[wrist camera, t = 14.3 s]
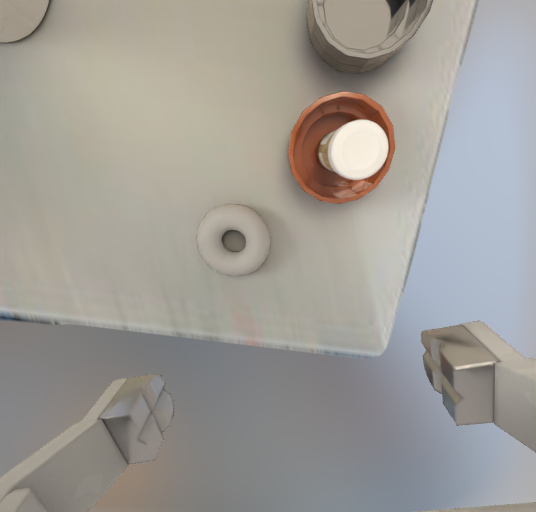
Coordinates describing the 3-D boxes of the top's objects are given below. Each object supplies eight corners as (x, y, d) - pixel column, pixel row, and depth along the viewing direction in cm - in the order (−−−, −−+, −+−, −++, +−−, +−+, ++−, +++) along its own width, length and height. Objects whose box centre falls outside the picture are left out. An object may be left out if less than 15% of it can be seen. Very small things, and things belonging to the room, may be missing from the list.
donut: (277, 209, 39) (204, 195, 38) (277, 214, 35) (197, 199, 35) (264, 276, 42) (197, 263, 42) (263, 286, 39) (190, 273, 39)
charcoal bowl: (297, -32, 30) (300, -70, 25) (407, -71, 28) (434, -121, 23) (317, 85, 33) (323, 73, 28) (416, 56, 32) (441, 37, 27)
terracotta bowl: (279, 115, 35) (278, 109, 29) (372, 89, 33) (388, 77, 28) (298, 204, 38) (300, 212, 33) (383, 184, 36) (399, 189, 31)
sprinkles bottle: (315, 171, 36) (330, 182, 23) (315, 132, 34) (331, 120, 22) (352, 169, 36) (387, 179, 23) (353, 130, 34) (392, 116, 21)
